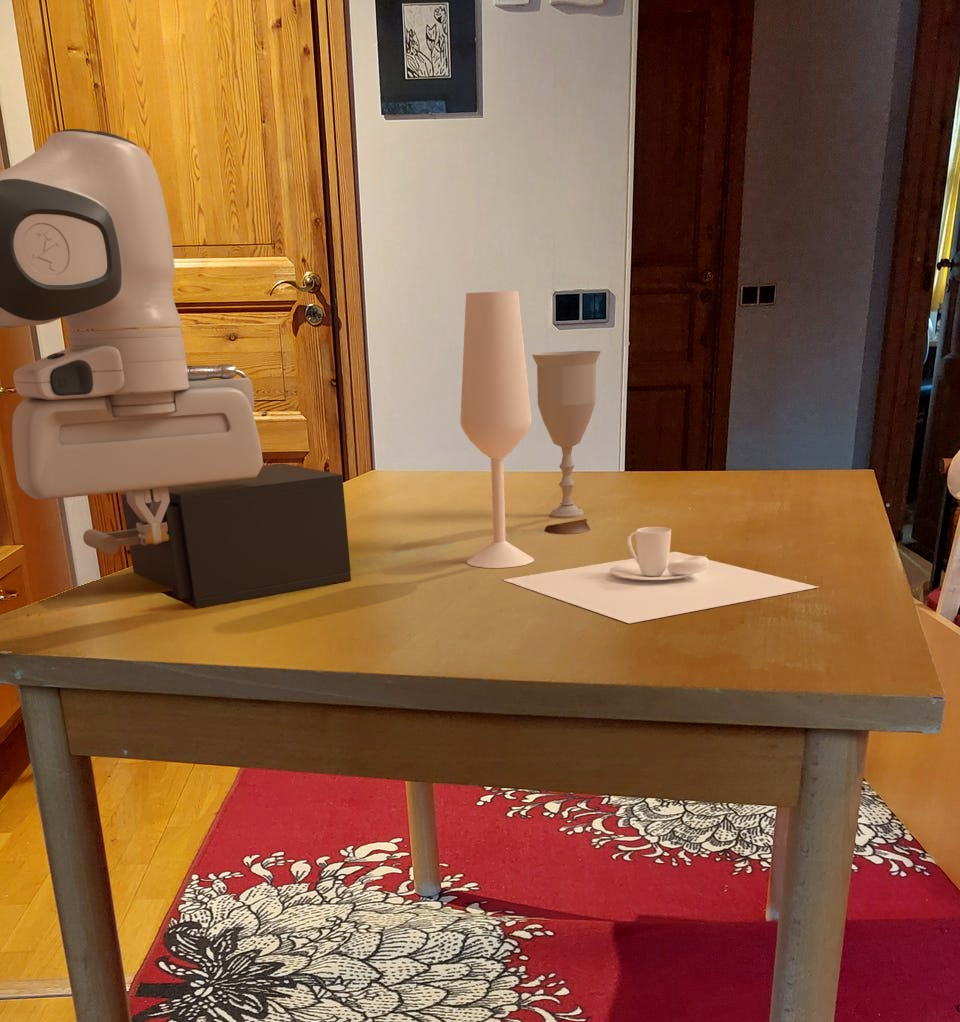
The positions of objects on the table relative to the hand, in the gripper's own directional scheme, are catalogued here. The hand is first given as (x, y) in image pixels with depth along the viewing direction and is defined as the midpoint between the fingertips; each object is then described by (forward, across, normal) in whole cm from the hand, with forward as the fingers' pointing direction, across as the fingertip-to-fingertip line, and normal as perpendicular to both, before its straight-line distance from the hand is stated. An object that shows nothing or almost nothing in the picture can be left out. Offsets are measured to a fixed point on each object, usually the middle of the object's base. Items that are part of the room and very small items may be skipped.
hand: (155, 543), depth 100 cm
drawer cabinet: (+6, -10, -5) cm, 12 cm away
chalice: (+5, -48, -4) cm, 49 cm away
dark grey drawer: (+5, -6, -5) cm, 9 cm away
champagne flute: (+5, -33, +4) cm, 34 cm away
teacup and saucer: (+5, -37, +22) cm, 44 cm away
